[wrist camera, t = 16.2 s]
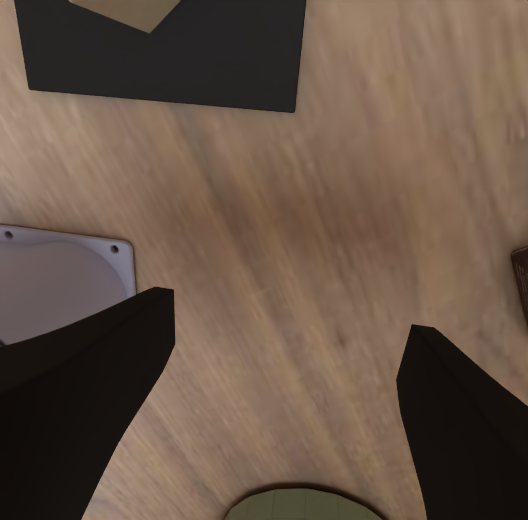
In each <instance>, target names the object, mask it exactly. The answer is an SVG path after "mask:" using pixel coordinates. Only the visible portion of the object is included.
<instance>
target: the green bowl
mask: <svg viewBox="0 0 528 520" xmlns="http://www.w3.org/2000/svg"><path fill="white" fill-rule="evenodd" d="M224 520H382V519H381V518H380V517H379V516H377V515H376V514H375V513H373V512H372V511H371V510H369V509H368V508H366V507H365V506H362V505H360V504H358V503H355V502H353V501H351V500H348V499H346V498H344V497H341V496H339V495H337V494H332V493H327V492H322V491H317V490H311V489H276V490H271V491H267V492H263V493H260V494H256V495H252V496H249V497H248V498H246V499H245V500H243V501H242V502H240V503H239V504H237V505H236V506H234V507H233V508H231V510H230V511H229V513H228V514H227V516H226V518H225V519H224Z"/></svg>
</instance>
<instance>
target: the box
mask: <svg viewBox="0 0 528 520" xmlns="http://www.w3.org/2000/svg"><path fill="white" fill-rule="evenodd" d="M512 261H513V264H514V268H515V272H516V276H517V281H518V285H519V289H520V293H521V297H522V302H523V305H524V310H525V313H526V318H527V322H528V247H527V248H524V249H520V250H518V251H516V252H514V253H512Z"/></svg>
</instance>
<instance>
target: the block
mask: <svg viewBox="0 0 528 520" xmlns="http://www.w3.org/2000/svg"><path fill="white" fill-rule="evenodd" d="M69 1H70V2H71V3H74V4H76V5H79V6H81V7H84V8H86V9H89V10H91V11H94V12H96V13H99V14H101V15H104V16H106V17H109V18H111V19H114V20H116V21H119V22H122V23H124V24H127V25H129V26H132V27H134V28H137V29H139V30H142V31H144V32H147V33H151V31H152V30H153V29H154V28H155V27H156V26H157V25H158V24H159V23H160V22H161V21H162V20H163V19H164V18H165V17H166V16H167V15H168V13H169V12H170V11H171V10H172V9H173V8H174V7H175V6H176V5H177V4H178V3H179V2H180V1H181V0H69Z"/></svg>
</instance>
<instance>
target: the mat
mask: <svg viewBox="0 0 528 520" xmlns="http://www.w3.org/2000/svg"><path fill="white" fill-rule="evenodd" d="M14 2H15V8H16V14H17V20H18V26H19V32H20V38H21V44H22V51H23V57H24V63H25V69H26V75H27V81H28V87H29V89H30V90H37V91H48V92H60V93H71V94H83V95H94V96H106V97H117V98H129V99H140V100H151V101H163V102H174V103H186V104H197V105H209V106H220V107H232V108H243V109H254V110H266V111H277V112H289V113H294V112H295V105H296V95H297V85H298V76H299V66H300V56H301V46H302V37H303V27H304V17H305V7H306V0H181V1H180V2H179V3H178V4H177V5H176V6H175V7H174V8H173V9H172V10H171V11H170V12H169V13H168V15H167V16H166V17H165V18H164V19H163V20H162V21H161V22H160V23H159V24H158V25H157V26H156V27H155V28H154V29H153V30H152V31H151V33H147V32H144V31H142V30H139V29H137V28H134V27H132V26H129V25H127V24H124V23H122V22H119V21H116V20H114V19H111V18H109V17H106V16H104V15H101V14H99V13H96V12H94V11H91V10H89V9H86V8H84V7H81V6H79V5H76V4H74V3H71V2H70V1H69V0H14Z"/></svg>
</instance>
